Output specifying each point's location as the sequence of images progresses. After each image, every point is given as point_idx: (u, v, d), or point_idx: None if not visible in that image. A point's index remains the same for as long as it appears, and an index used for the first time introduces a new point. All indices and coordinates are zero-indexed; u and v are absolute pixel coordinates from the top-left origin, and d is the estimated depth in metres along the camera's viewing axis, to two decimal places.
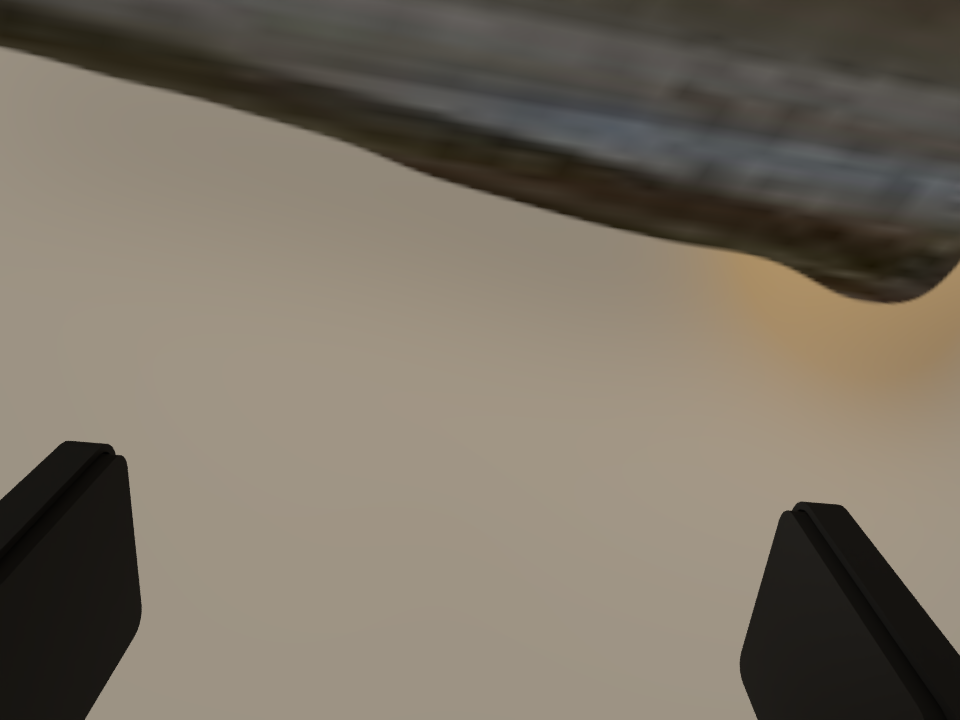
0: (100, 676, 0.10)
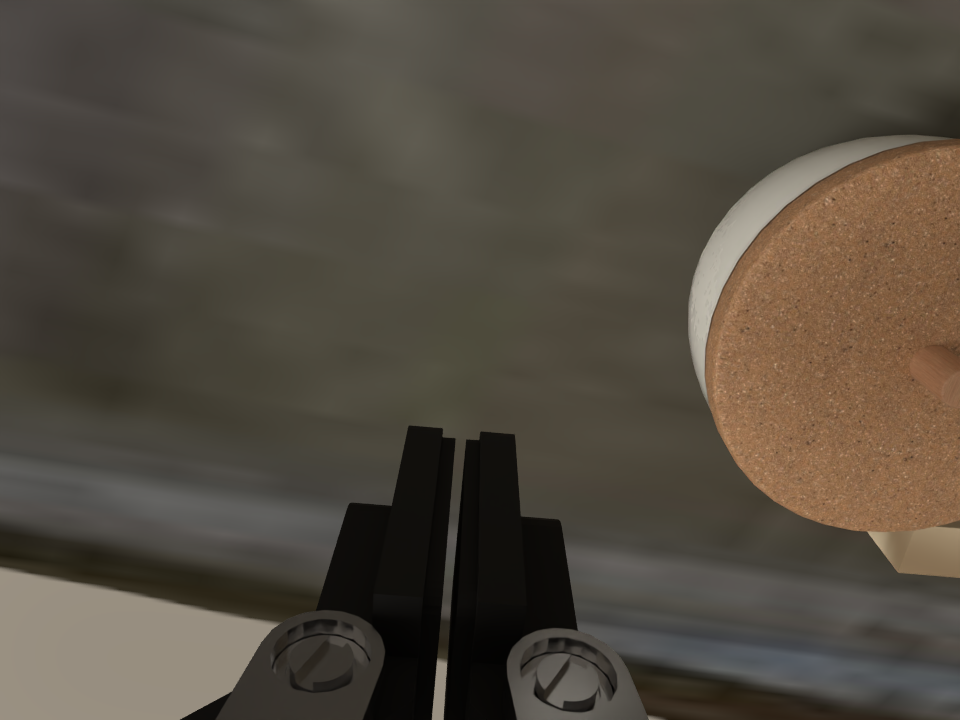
0: None
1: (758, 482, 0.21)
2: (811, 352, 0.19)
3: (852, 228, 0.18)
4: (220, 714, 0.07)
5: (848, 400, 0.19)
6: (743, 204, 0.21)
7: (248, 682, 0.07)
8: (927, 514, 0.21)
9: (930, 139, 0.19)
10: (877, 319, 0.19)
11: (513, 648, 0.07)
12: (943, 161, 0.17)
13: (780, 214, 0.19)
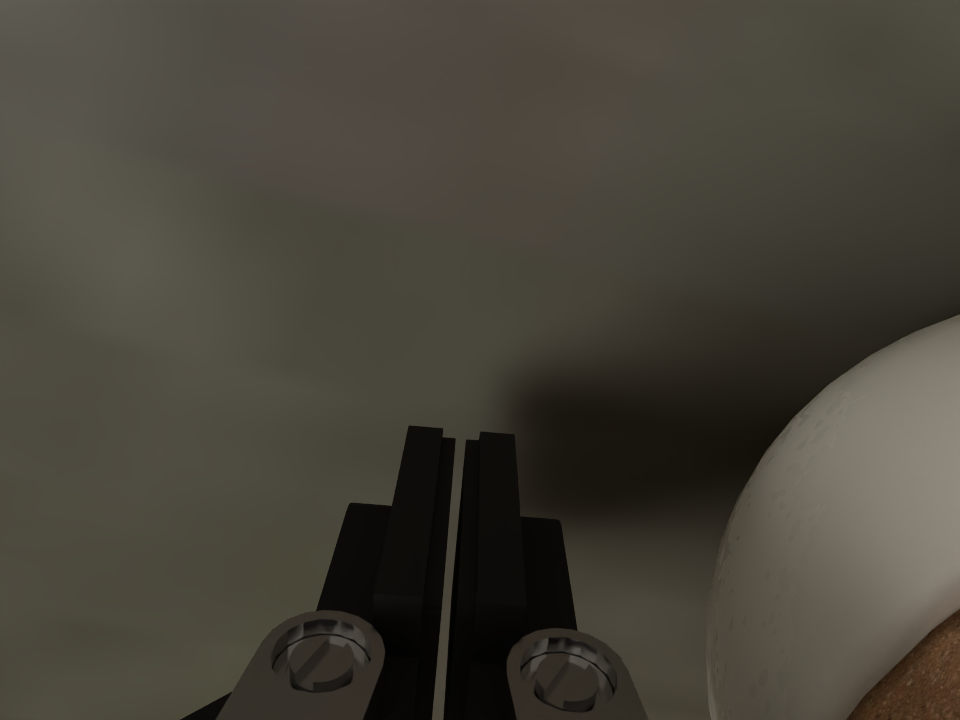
0: None
1: None
2: None
3: None
4: (220, 714, 0.07)
5: None
6: (839, 454, 0.09)
7: (248, 682, 0.07)
8: None
9: None
10: None
11: (513, 648, 0.07)
12: None
13: None
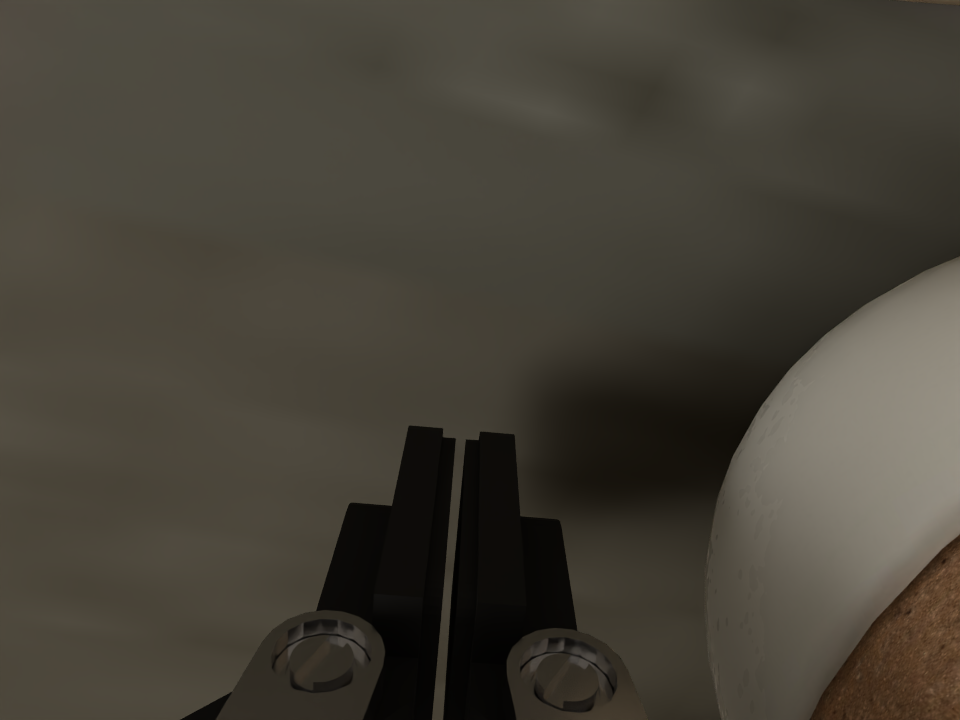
0: None
1: None
2: None
3: None
4: (220, 714, 0.07)
5: None
6: (791, 446, 0.09)
7: (248, 682, 0.07)
8: None
9: None
10: None
11: (512, 648, 0.07)
12: None
13: (933, 587, 0.06)
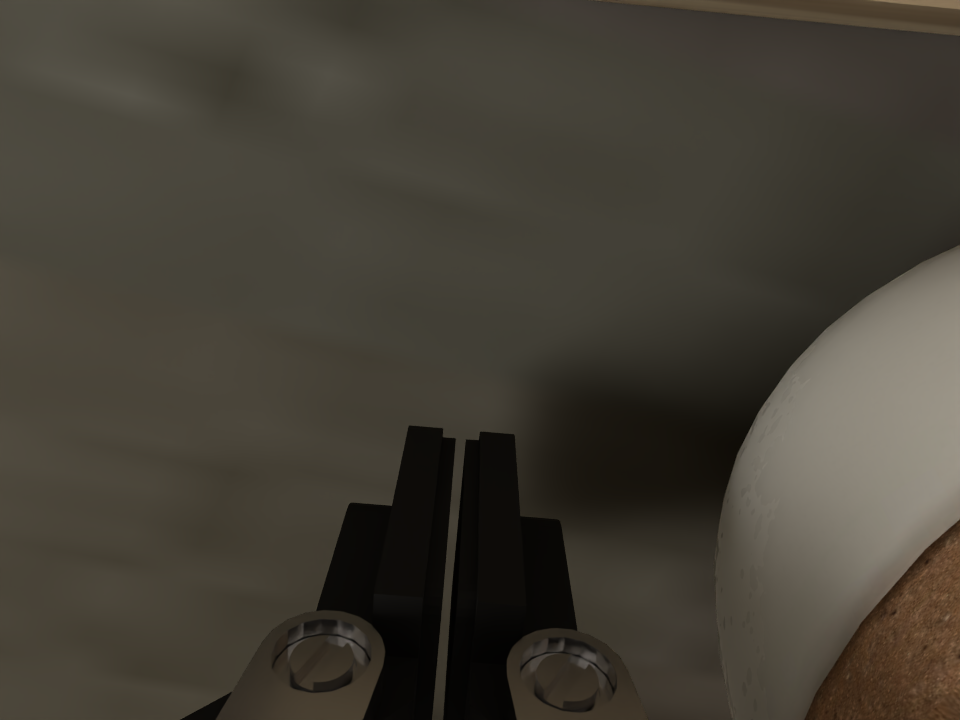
0: None
1: None
2: None
3: None
4: (220, 714, 0.07)
5: None
6: (788, 445, 0.09)
7: (248, 682, 0.07)
8: None
9: None
10: None
11: (512, 648, 0.07)
12: None
13: (917, 588, 0.06)
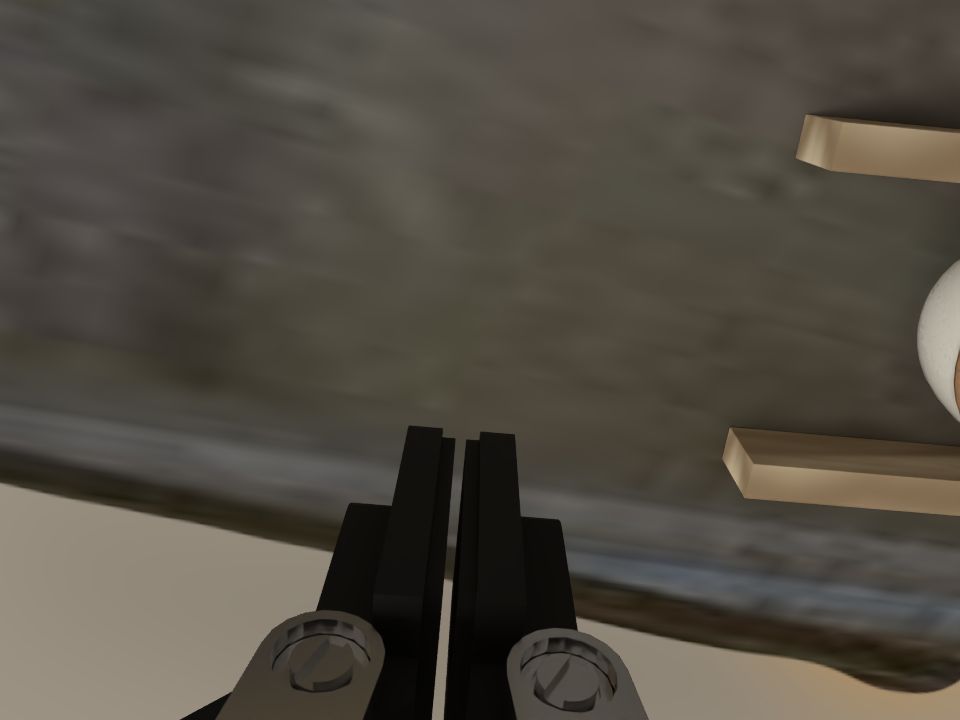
0: None
1: None
2: None
3: None
4: (220, 714, 0.07)
5: None
6: (951, 289, 0.34)
7: (248, 682, 0.07)
8: None
9: None
10: None
11: (513, 648, 0.07)
12: None
13: None
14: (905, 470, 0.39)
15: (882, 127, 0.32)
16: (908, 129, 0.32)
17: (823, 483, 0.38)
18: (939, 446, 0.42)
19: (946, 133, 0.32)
